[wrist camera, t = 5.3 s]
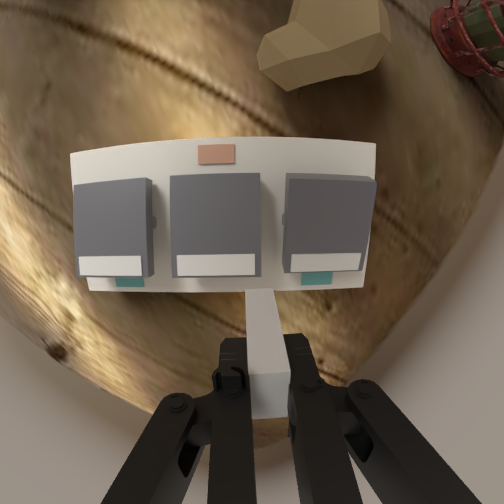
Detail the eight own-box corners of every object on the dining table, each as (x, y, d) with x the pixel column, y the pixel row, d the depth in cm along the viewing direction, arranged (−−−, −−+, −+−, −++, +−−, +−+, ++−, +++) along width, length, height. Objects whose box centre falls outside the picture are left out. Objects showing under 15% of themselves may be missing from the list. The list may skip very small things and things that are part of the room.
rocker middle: (174, 178, 24) (169, 175, 22) (258, 176, 24) (260, 172, 22) (176, 274, 25) (171, 278, 23) (260, 272, 25) (261, 277, 23)
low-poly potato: (347, -6, 22) (261, -46, 17) (426, -1, 15) (336, -70, 9) (316, 101, 31) (226, 82, 25) (387, 132, 23) (287, 104, 18)
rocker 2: (285, 172, 22) (289, 179, 21) (368, 176, 23) (378, 182, 21) (281, 262, 26) (284, 274, 25) (355, 260, 26) (362, 271, 25)
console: (93, 151, 27) (64, 154, 22) (355, 143, 28) (380, 143, 23) (107, 273, 32) (86, 296, 27) (347, 270, 33) (366, 293, 27)
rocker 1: (83, 186, 23) (72, 184, 22) (152, 180, 24) (145, 177, 22) (86, 273, 24) (75, 277, 22) (154, 274, 24) (147, 278, 23)
